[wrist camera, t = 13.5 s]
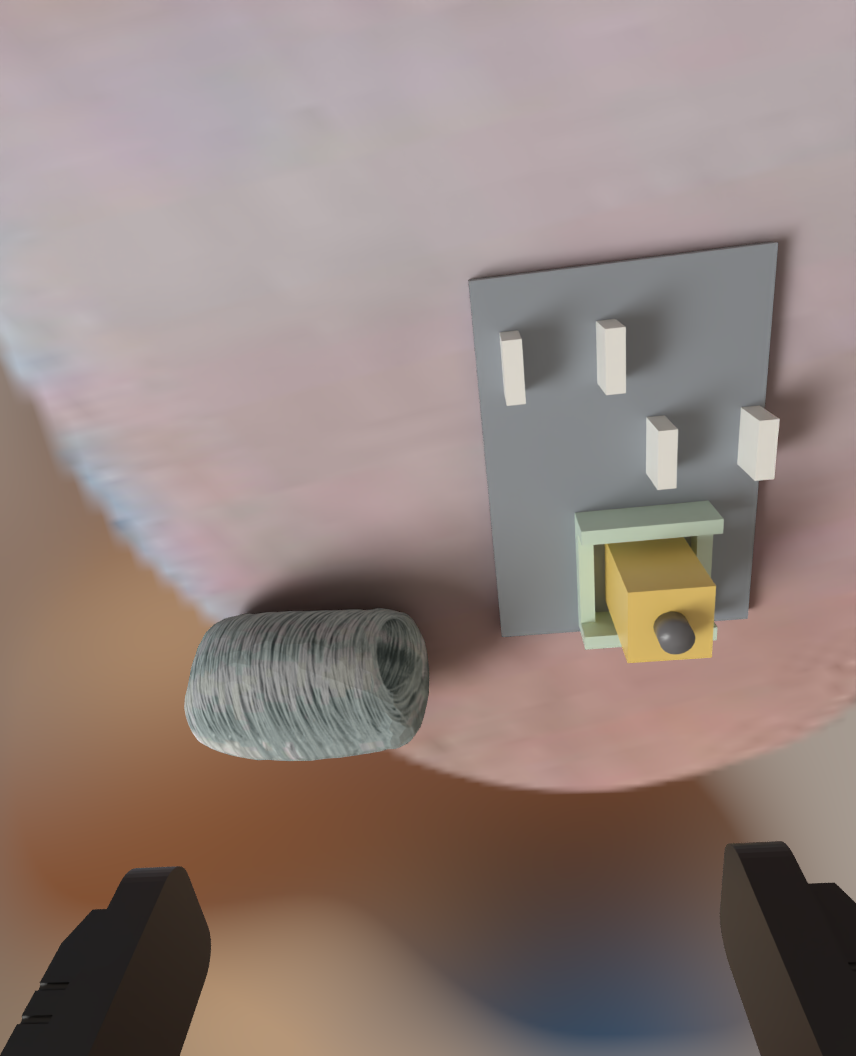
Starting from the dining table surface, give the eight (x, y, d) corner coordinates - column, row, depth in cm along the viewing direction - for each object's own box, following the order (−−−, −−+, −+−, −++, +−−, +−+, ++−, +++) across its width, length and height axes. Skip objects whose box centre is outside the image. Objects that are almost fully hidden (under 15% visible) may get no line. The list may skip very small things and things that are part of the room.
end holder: (574, 512, 37) (581, 531, 35) (708, 500, 36) (723, 519, 34) (578, 625, 40) (585, 649, 38) (702, 616, 39) (716, 639, 37)
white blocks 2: (646, 417, 35) (658, 431, 33) (759, 405, 34) (779, 418, 32) (645, 472, 36) (657, 490, 34) (755, 462, 35) (774, 479, 33)
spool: (441, 581, 36) (383, 764, 31) (454, 664, 44) (409, 824, 38) (215, 540, 40) (124, 698, 34) (262, 623, 47) (194, 764, 42)
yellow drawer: (604, 536, 38) (633, 606, 31) (679, 530, 37) (724, 599, 31) (605, 599, 39) (633, 678, 33) (677, 594, 39) (719, 672, 32)
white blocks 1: (499, 332, 33) (501, 341, 31) (615, 318, 33) (625, 326, 31) (504, 393, 35) (506, 406, 32) (615, 381, 34) (625, 393, 32)
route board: (468, 279, 33) (468, 281, 32) (771, 241, 32) (778, 242, 31) (501, 629, 41) (501, 637, 41) (742, 611, 40) (747, 618, 39)
